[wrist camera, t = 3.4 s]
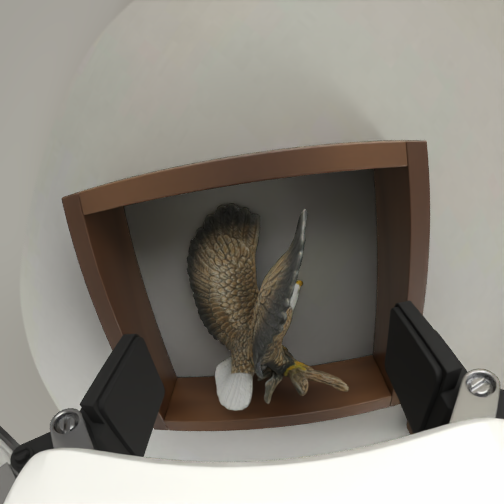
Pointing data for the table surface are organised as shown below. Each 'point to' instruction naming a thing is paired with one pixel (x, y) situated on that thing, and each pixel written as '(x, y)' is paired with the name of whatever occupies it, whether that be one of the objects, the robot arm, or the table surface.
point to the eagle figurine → (248, 305)
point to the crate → (246, 171)
